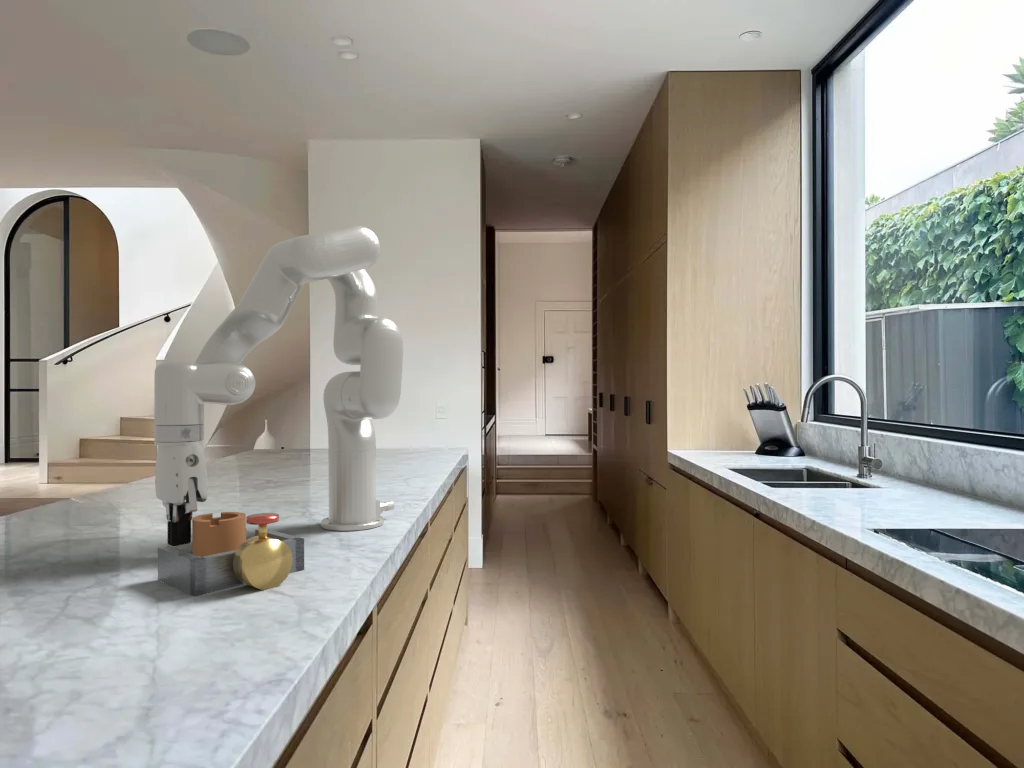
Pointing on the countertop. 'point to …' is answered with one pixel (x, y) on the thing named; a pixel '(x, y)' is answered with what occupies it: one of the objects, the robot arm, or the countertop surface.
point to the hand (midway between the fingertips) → (179, 543)
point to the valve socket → (235, 562)
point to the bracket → (218, 533)
